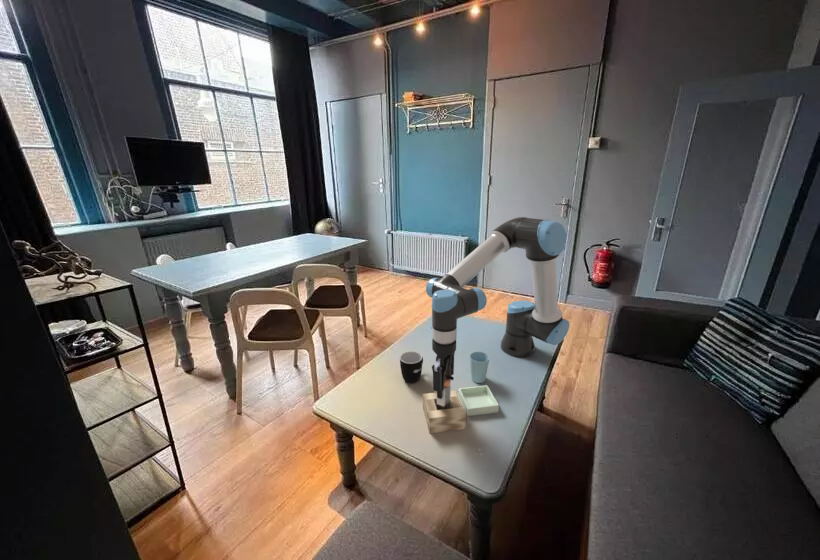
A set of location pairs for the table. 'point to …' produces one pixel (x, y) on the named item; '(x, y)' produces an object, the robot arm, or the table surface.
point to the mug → (411, 366)
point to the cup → (479, 366)
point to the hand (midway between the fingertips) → (443, 400)
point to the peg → (446, 395)
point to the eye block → (444, 413)
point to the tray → (478, 400)
